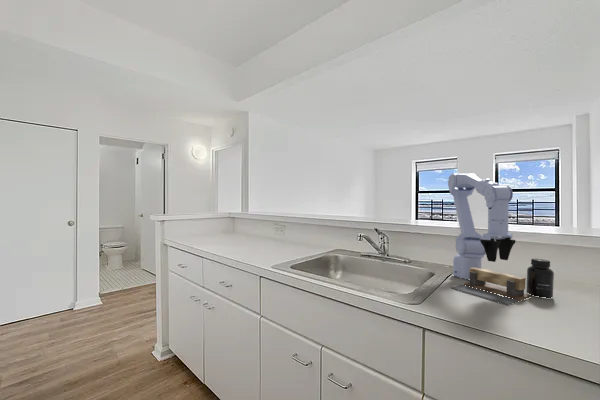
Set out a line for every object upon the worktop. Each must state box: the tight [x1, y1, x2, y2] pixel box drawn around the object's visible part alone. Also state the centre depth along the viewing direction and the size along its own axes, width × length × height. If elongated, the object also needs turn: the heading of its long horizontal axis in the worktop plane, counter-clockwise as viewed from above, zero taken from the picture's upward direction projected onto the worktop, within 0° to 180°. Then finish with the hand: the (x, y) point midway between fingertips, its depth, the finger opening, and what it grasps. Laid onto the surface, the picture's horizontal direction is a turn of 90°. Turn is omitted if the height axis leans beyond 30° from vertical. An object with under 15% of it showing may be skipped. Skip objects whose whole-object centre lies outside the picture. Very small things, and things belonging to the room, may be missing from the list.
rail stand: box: [463, 272, 533, 302], centre depth 98 cm, size 18×7×6 cm, turn 28°
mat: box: [450, 284, 520, 306], centre depth 94 cm, size 18×7×1 cm, turn 28°
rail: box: [469, 267, 527, 290], centre depth 98 cm, size 16×4×4 cm, turn 28°
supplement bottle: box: [525, 258, 555, 298], centre depth 94 cm, size 7×7×12 cm
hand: (497, 260), depth 97 cm, fingers open, 7 cm apart
